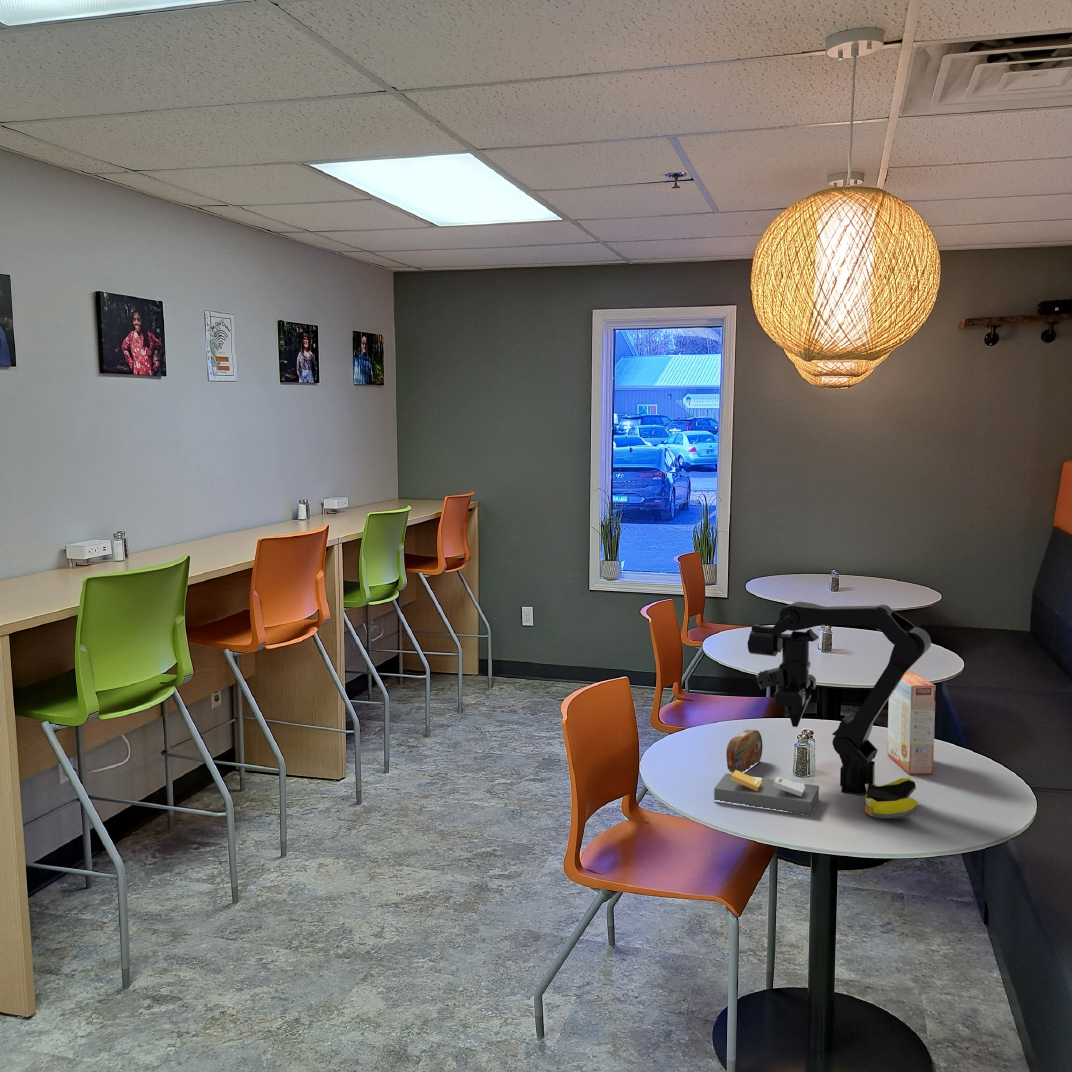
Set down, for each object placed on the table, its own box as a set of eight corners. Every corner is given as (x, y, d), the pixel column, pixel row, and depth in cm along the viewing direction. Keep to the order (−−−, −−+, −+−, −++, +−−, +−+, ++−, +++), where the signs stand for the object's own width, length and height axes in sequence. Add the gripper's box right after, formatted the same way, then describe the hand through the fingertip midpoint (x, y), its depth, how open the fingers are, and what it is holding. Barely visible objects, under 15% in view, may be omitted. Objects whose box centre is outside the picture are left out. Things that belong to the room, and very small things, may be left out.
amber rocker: (760, 785, 199) (762, 781, 199) (757, 791, 196) (758, 786, 196) (734, 773, 202) (735, 769, 201) (730, 779, 198) (731, 774, 198)
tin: (736, 779, 212) (736, 743, 211) (723, 776, 214) (723, 741, 213) (763, 760, 224) (763, 726, 223) (751, 758, 226) (751, 724, 225)
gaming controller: (914, 801, 197) (864, 796, 200) (915, 776, 197) (865, 771, 200) (918, 829, 183) (864, 823, 186) (919, 802, 182) (865, 796, 186)
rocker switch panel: (818, 799, 199) (818, 783, 199) (810, 816, 190) (810, 799, 190) (726, 786, 208) (726, 771, 207) (714, 802, 199) (714, 786, 198)
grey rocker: (804, 790, 195) (805, 786, 195) (801, 796, 192) (802, 792, 192) (776, 780, 198) (777, 775, 198) (772, 786, 195) (774, 781, 194)
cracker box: (935, 775, 212) (937, 684, 210) (908, 775, 212) (910, 685, 210) (911, 754, 226) (913, 670, 224) (886, 755, 226) (887, 670, 224)
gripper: (768, 647, 221) (767, 711, 223) (750, 664, 204) (749, 734, 206) (816, 651, 216) (816, 716, 218) (802, 669, 200) (801, 740, 201)
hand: (795, 726), depth 211 cm, fingers closed
